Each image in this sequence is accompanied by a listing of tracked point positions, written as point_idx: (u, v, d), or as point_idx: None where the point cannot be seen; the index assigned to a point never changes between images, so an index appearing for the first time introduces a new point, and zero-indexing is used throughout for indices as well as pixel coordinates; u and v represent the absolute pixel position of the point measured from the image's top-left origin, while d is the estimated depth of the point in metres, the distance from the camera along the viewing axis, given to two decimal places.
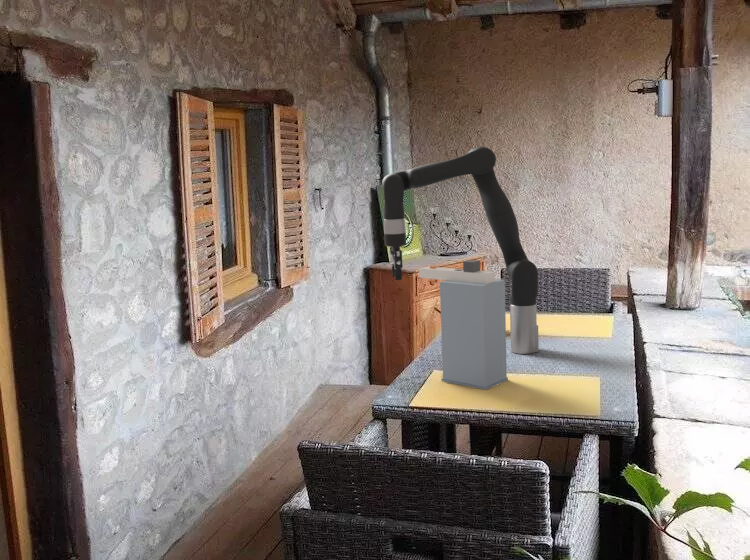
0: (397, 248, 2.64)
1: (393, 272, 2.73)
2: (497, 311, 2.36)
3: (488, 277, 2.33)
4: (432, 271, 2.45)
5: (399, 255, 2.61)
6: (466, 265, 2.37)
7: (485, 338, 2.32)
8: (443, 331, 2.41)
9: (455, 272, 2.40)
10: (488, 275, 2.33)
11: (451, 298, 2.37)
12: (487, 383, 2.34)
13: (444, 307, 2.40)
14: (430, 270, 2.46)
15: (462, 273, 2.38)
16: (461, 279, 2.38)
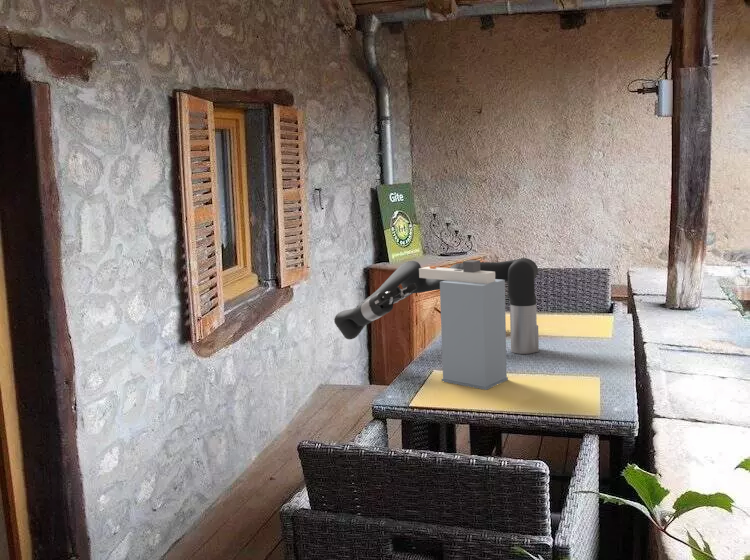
0: None
1: None
2: (497, 311, 2.36)
3: (488, 277, 2.33)
4: (432, 271, 2.45)
5: None
6: (466, 265, 2.37)
7: (485, 338, 2.32)
8: (443, 331, 2.41)
9: (455, 272, 2.40)
10: (488, 275, 2.33)
11: (451, 298, 2.37)
12: (487, 383, 2.34)
13: (444, 307, 2.40)
14: (430, 270, 2.46)
15: (462, 273, 2.38)
16: (461, 279, 2.38)
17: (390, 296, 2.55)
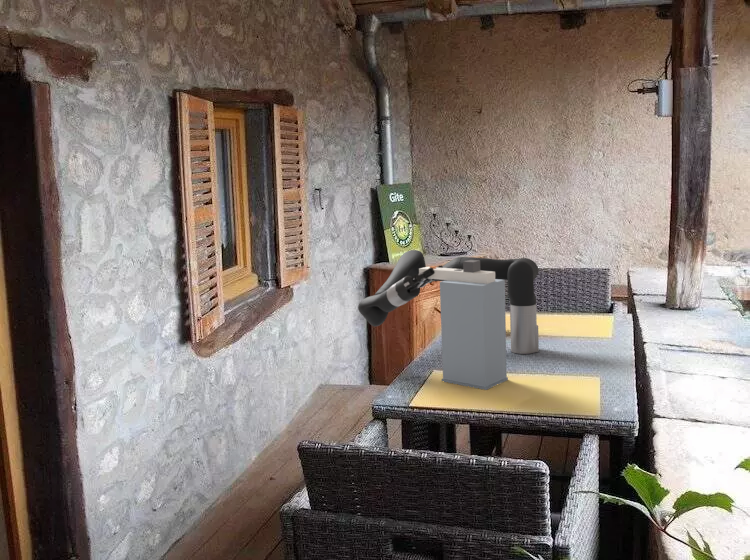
0: None
1: None
2: (497, 311, 2.36)
3: (488, 277, 2.33)
4: None
5: None
6: (466, 265, 2.37)
7: (485, 338, 2.32)
8: (443, 331, 2.41)
9: (455, 272, 2.40)
10: (488, 275, 2.33)
11: (451, 298, 2.37)
12: (487, 383, 2.34)
13: (444, 307, 2.40)
14: None
15: (462, 273, 2.38)
16: (461, 279, 2.38)
17: (424, 277, 2.47)
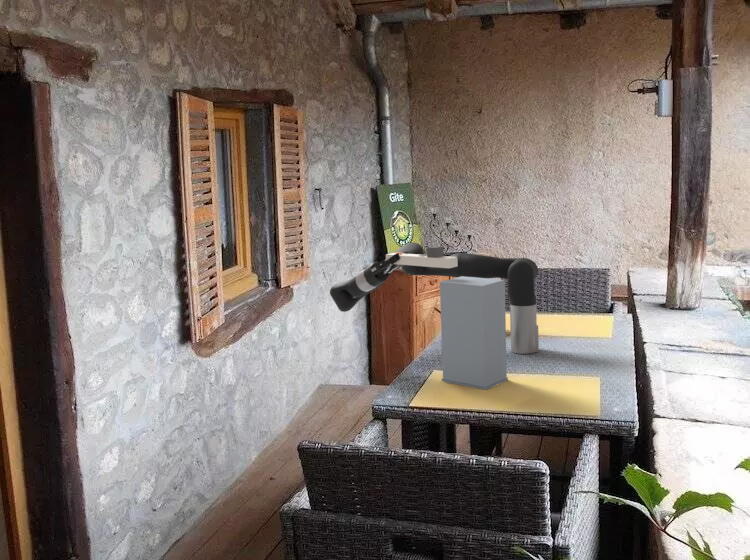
0: None
1: None
2: (497, 311, 2.36)
3: (450, 262, 2.41)
4: None
5: None
6: (429, 251, 2.45)
7: (485, 338, 2.32)
8: (443, 331, 2.41)
9: (419, 257, 2.48)
10: (450, 260, 2.41)
11: (451, 298, 2.37)
12: (487, 383, 2.34)
13: (444, 307, 2.40)
14: None
15: (425, 258, 2.46)
16: (425, 264, 2.47)
17: (390, 262, 2.55)
